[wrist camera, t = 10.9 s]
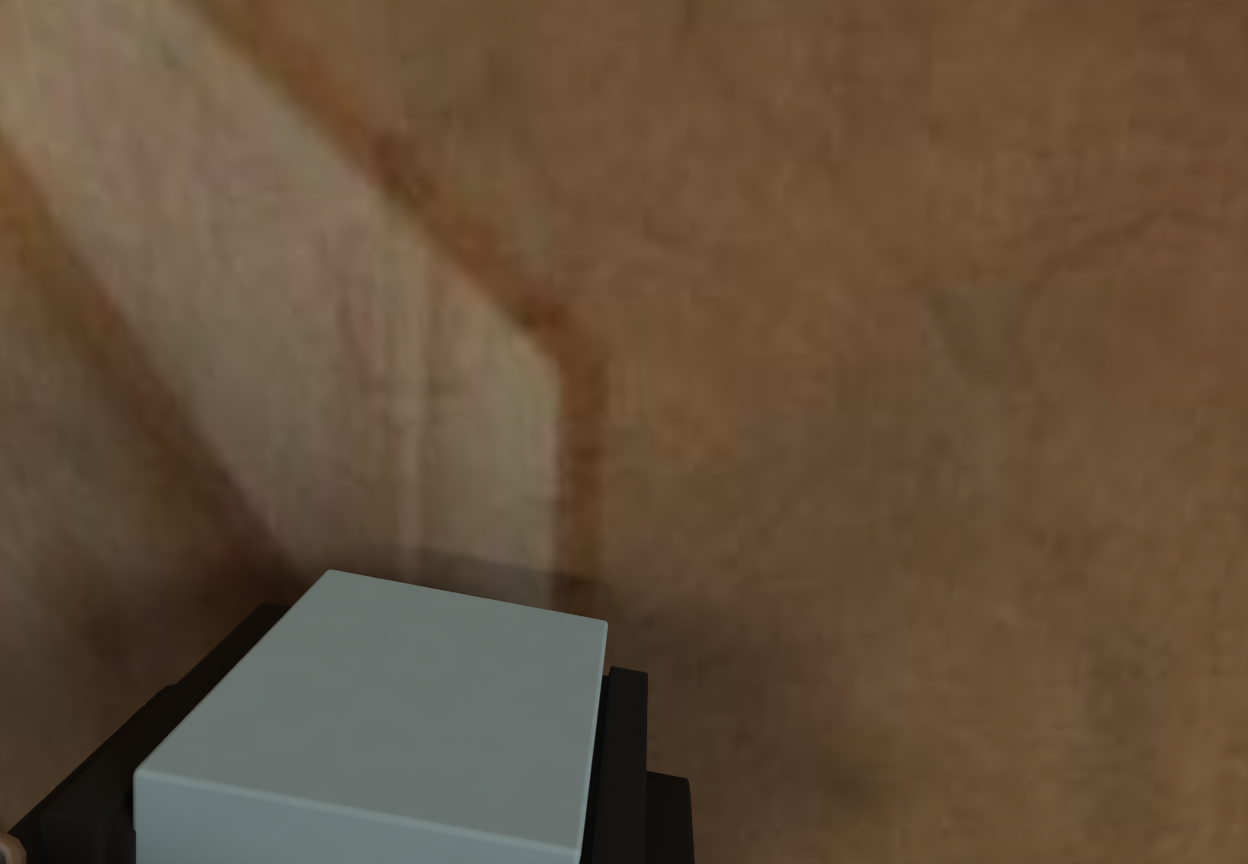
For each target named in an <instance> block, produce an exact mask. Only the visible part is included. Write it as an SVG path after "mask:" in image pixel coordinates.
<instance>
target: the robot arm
mask: <svg viewBox="0 0 1248 864" xmlns="http://www.w3.org/2000/svg"><path fill="white" fill-rule="evenodd" d="M290 608H291V607H290V606H284V605H279V604H273V603H268V602H266V603H262V604H261V605H259V606H258V607H257V608H256V609H255V610H254V611H253V612H252V613H251V614H250V615H249V616H248V617H247V618H246V619H244V620H243V621H242V622H241V623H240V624H239V625H238V626H237V627H236V628H235V629H234V630H233V631H232V632H231V633H230V634H229V635H228V636H227V637H226V638H224V639H223V640H222V641H221V642H220V643H219V644H218V645H217V646H216V647H215V648H214V649H213V650H212V651H211V652H210V653H209V654H208V655H207V656H206V657H204V658H203V659H202V660H201V661H200V662H199V663H198V664H197V665H196V666H195V667H194V668H193V669H192V670H191V671H190V672H189V673H188V674H187V675H186V676H185V677H183V678H182V679H181V680H180V681H179V682H178V683H177V684H173V685H169V686H166V687H165V688H164V689H162V690H161V691H159V692H158V693H157V694H156V695H155V696H154V697H152V698H151V699H150V700H149V701H148V702H147V703H146V704H145V705H144V706H143V707H142V708H141V709H140V710H138V711H137V712H136V713H135V714H134V715H133V716H132V717H131V718H130V719H129V720H128V721H127V722H126V723H125V724H123V725H122V726H121V727H120V728H119V729H118V730H117V731H116V732H115V733H114V734H113V735H112V736H111V737H109V738H108V739H107V740H106V741H105V742H104V743H103V744H102V745H101V746H100V747H99V748H98V749H97V750H96V751H94V752H93V753H92V754H91V755H90V756H89V757H88V758H87V759H86V760H85V761H84V762H83V763H82V764H81V765H79V766H78V767H77V768H76V769H75V770H74V771H73V772H72V773H71V774H70V775H69V776H68V777H67V778H65V779H64V780H63V781H62V782H61V783H60V784H59V785H58V786H57V787H56V788H55V789H54V790H53V791H52V792H50V793H49V794H48V795H47V796H46V797H45V798H44V799H43V800H42V801H41V802H40V803H39V804H38V805H36V806H35V807H34V808H33V809H32V810H31V811H30V812H29V813H28V814H27V815H26V816H25V817H24V818H23V819H21V820H20V821H19V822H18V823H17V824H16V825H15V826H14V827H13V828H12V829H11V830H10V831H9V832H7V833H6V832H4V831H1V830H0V864H136V831H135V830H134V829H133V775H134V772H135V770H136V768H137V767H138V766H139V765H140V764H141V763H142V762H143V761H144V760H145V759H146V758H147V757H148V756H149V755H150V754H151V753H152V752H153V750H154V749H155V748H156V747H157V746H158V745H159V744H160V743H161V742H162V741H163V740H164V739H165V738H166V737H167V736H168V735H169V734H170V733H171V732H172V731H173V730H174V729H175V728H176V727H177V726H178V725H179V724H180V722H181V721H182V720H183V719H184V718H185V717H186V716H187V715H188V714H189V713H190V712H191V711H192V710H193V709H194V708H195V707H196V706H197V705H198V704H199V703H200V702H201V701H202V700H203V699H204V698H205V697H206V696H207V694H208V693H209V692H210V691H211V690H212V689H213V688H214V687H215V686H216V685H217V684H218V683H219V682H220V681H221V680H222V679H223V678H224V677H225V676H226V675H227V674H228V673H229V672H230V671H231V670H232V669H233V668H234V666H235V665H236V664H237V663H238V662H239V661H240V660H241V659H242V658H243V657H244V656H245V655H246V654H247V653H248V652H249V651H250V650H251V649H252V648H253V647H254V646H255V645H256V644H257V643H258V642H259V641H260V639H261V638H262V637H263V636H264V635H265V634H266V633H267V632H268V631H269V630H270V629H271V628H272V627H273V626H274V625H275V624H276V623H277V622H278V621H279V620H280V619H281V618H282V617H283V616H284V615H285V614H286V613H287V611H288V610H289V609H290ZM647 696H648V674H647V673H645V672H640V671H634V670H629V669H624V668H618V667H613V666H611V668H610V672H609V676H605V675H602V681H601V690H600V698H599V707H598V715H597V723H596V732H595V740H594V749H593V757H592V765H591V774H590V782H589V791H588V799H587V807H586V816H585V824H584V833H583V841H582V849H581V856H580V861H579V864H695V861H694V845H693V829H692V813H691V796H690V786H689V781H688V779H687V778H682V777H677V776H671V775H666V774H661V773H655V772H650V771H646V754H647Z"/></svg>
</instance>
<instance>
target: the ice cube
mask: <svg viewBox="0 0 1248 864" xmlns="http://www.w3.org/2000/svg"><path fill="white" fill-rule="evenodd" d="M607 631H608V624H607V622H606V621H604V620H599V619H594V618H589V617H583V616H578V615H573V614H567V613H562V612H557V611H551V610H546V609H541V608H535V607H530V606H524V605H519V604H514V603H508V602H503V601H498V600H492V599H487V598H482V597H476V596H471V595H465V594H460V593H455V592H449V591H444V590H439V589H433V588H428V587H423V586H417V585H412V584H407V583H401V582H396V581H390V580H385V579H380V578H374V577H369V576H364V575H358V574H353V573H348V572H342V571H337V570H327V571H326V572H325V573H324V574H323V575H322V576H321V577H320V578H319V579H318V580H317V581H316V582H315V583H314V585H313V586H312V587H311V588H310V589H309V590H308V591H307V592H306V593H305V594H304V595H303V596H302V597H301V598H300V599H299V600H298V601H297V602H296V603H295V604H294V605H293V606H292V607H291V608H290V609H289V610H288V611H287V613H286V614H285V615H284V616H283V617H282V618H281V619H280V620H279V621H278V622H277V623H276V624H275V625H274V626H273V627H272V628H271V629H270V630H269V631H268V632H267V633H266V634H265V635H264V636H263V637H262V638H261V639H260V641H259V642H258V643H257V644H256V645H255V646H254V647H253V648H252V649H251V650H250V651H249V652H248V653H247V654H246V655H245V656H244V657H243V658H242V659H241V660H240V661H239V662H238V663H237V664H236V665H235V666H234V668H233V669H232V670H231V671H230V672H229V673H228V674H227V675H226V676H225V677H224V678H223V679H222V680H221V681H220V682H219V683H218V684H217V685H216V686H215V687H214V688H213V689H212V690H211V691H210V692H209V693H208V694H207V696H206V697H205V698H204V699H203V700H202V701H201V702H200V703H199V704H198V705H197V706H196V707H195V708H194V709H193V710H192V711H191V712H190V713H189V714H188V715H187V716H186V717H185V718H184V719H183V720H182V721H181V722H180V724H179V725H178V726H177V727H176V728H175V729H174V730H173V731H172V732H171V733H170V734H169V735H168V736H167V737H166V738H165V739H164V740H163V741H162V742H161V743H160V744H159V745H158V746H157V747H156V748H155V749H154V750H153V752H152V753H151V754H150V755H149V756H148V757H147V758H146V759H145V760H144V761H143V762H142V763H141V764H140V765H139V766H138V767H137V768H136V770H135V772H134V775H133V829H134V830H135V831H136V864H579V861H580V856H581V849H582V841H583V833H584V824H585V816H586V807H587V799H588V791H589V782H590V774H591V765H592V757H593V749H594V740H595V732H596V723H597V715H598V707H599V698H600V690H601V681H602V673H603V665H604V656H605V648H606V639H607Z"/></svg>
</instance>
